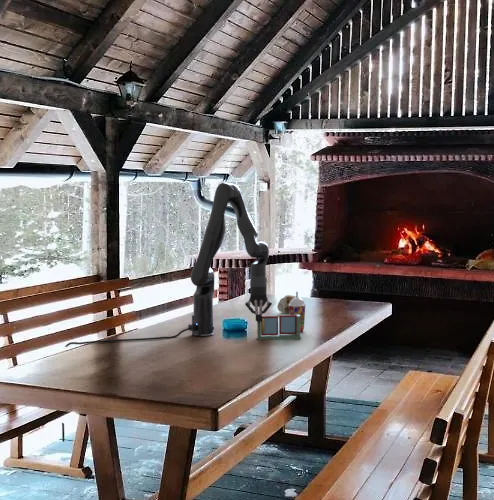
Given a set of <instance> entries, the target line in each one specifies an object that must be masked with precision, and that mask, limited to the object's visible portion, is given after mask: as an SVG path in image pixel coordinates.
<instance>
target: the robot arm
mask: <svg viewBox="0 0 494 500" xmlns="http://www.w3.org/2000/svg"><path fill="white" fill-rule="evenodd" d="M228 204H229V205H230V206H231V207H232V208H233V210H234V213H235V217H236V226H237V228H238V230H239V232H240V235H241V237H242V238H243V243H244V246H245V251H246V253H247V254H248V256H249V257H250V258H252V259H253V258H254V259H255V261H254V262H252V263H251V264H250V278H249V279H250V280H249V290H250V291H249V293H250V297H249V300H247V301H245V303H244V305H245V307H247V309H248V310H249V312H251V314H254V315H255V322H256V324H257V323H260V321H262V316H263V315H264V314H266V313H267V312H268V310H269V309H270V307H271V306H272V305H273V302H272V301H270V300H269V299H268V296H267V294H268V293H267V284H268V282H267V276H266V275H267V268H266V267H267V263H268V260H269V255H270V250H269V249H270V248H269V245H268V244H267V243H266V242H265V241H256V238H258V235H259V233H258V231H257V229H256V227H255V225H254V223H253V221H252V219H251V217H250V214H249V213H248V209H247V207H246V204H245V200H244V198H243V194H242V192H241V189H240V187H239V186H238V185H236V184H235V183H229V182H221V183H219V184H218V185H217V187H216V189H215V191H214V197H213V202H212V206H211V210H210V214H209V217H208V221H207V224H206V227H205V231H204V234H203V237H202V241H201V245H200V248H199V252H198V255H197V258H196V261H195V263H194V265H193V267H192V270H191V273H190V281H191V283H192V285H194V286H195V287H196V289H195V291H194V292H193V297H192V299H193V301H192V303H193V314H192V315H191V323H189V324H187V327H186V328H184V329H182V330H181V331H179V332H178V333H177V334H175V335H172V336H171V335H170V336H158V337H157V336H156V337H155V336H154V337H141V338H140V337H139V338H122V339H121V338H120V339H118V338H117V339H103V340H91V341H81V342H77V341H70V342H68V343H67V344H65V346H64V348H67V347H69V346H72V345H87V344H98V343H112V342H113V343H114V342H134V341H135V342H137V341H149V340H150V341H152V340H163V339H164V340H165V339H175V338H177V337H179V336H180V335H181V334H183V333H184V332H186V331H190V332H191V335H192V336H195V337H210V336H213V335H214V330H215V326H214V309H213V308H214V302H213V301H214V299H213V298H214V294H215V272H214V270H213V269H212V268H211V266H212V263H213V260H214V258H215V256H216V255H217V253H218V252H219V250H220V248H221V246H222V245H223V241H224V239H225V235H226V221H225V214H226V210H227V207H228ZM251 305H252V306H253V307H254V308H253V307H252V306H251ZM264 306H265V307H264ZM263 307H264V308H263ZM61 430H62V431H61V435H62V437H61V439H62V440H61V441H62V442H65V423H64V422H61Z"/></svg>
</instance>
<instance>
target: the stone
mask: <svg viewBox="0 0 494 500" xmlns="http://www.w3.org/2000/svg"><path fill="white" fill-rule="evenodd" d="M295 297H296V295H291V294H286V295H285V296H284V297H281V298H280V299H279V301H278V304H277V310H278V311H279V312H281V313H282V314H289V305H288V304H289V303H290V301H291V300H292V299H293V298H295Z"/></svg>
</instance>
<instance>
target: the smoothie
mask: <svg viewBox="0 0 494 500" xmlns="http://www.w3.org/2000/svg"><path fill="white" fill-rule="evenodd" d="M295 293H296V295H295V296H296V297H295V298H293V299H292V300H291V301H290V303H289V304H288V305H289V313H288V315H300V334H301V333H303V332H304V330H305V319H306V303H305V301H304V299H302V298H301V297H299V295H298V294H299V292H298V291H296V292H295Z"/></svg>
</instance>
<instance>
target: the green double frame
mask: <svg viewBox="0 0 494 500" xmlns="http://www.w3.org/2000/svg"><path fill="white" fill-rule="evenodd" d="M256 325H257V326H256V327H257V330H256V331H257V336H256V337H257V341H258V340H259V341H261V340H263V341H264V340H265V341H266V340H267V341H268V340H270V341H271V340H275V341H276V340H301V333H300V315H289V314H279V315H278V335H275V336H261V321H260V323H257V322H256Z"/></svg>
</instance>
